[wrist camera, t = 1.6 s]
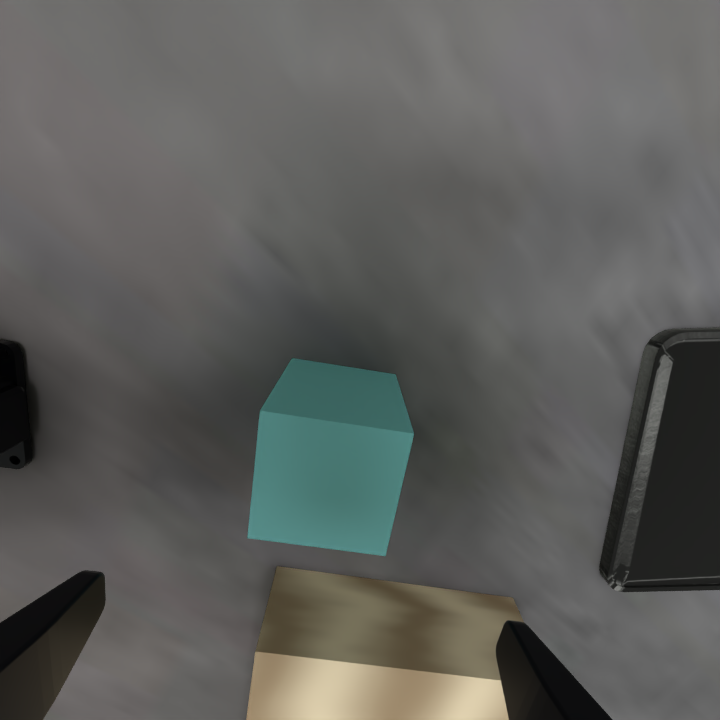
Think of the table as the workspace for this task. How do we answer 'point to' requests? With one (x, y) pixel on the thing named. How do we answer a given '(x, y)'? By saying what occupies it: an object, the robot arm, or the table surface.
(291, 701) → the oak box
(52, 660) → the robot arm
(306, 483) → the teal cube
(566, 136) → the table surface
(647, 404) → the phone
